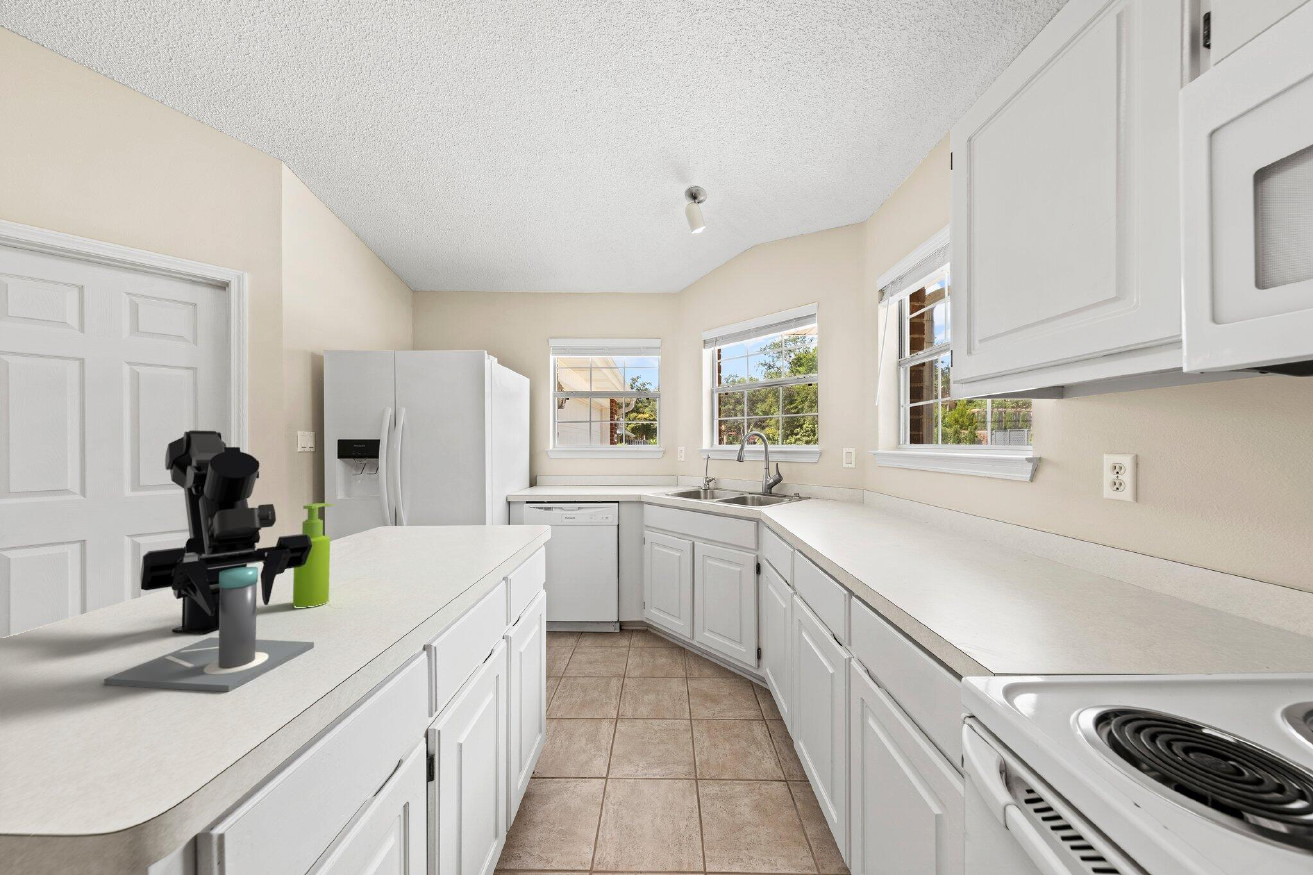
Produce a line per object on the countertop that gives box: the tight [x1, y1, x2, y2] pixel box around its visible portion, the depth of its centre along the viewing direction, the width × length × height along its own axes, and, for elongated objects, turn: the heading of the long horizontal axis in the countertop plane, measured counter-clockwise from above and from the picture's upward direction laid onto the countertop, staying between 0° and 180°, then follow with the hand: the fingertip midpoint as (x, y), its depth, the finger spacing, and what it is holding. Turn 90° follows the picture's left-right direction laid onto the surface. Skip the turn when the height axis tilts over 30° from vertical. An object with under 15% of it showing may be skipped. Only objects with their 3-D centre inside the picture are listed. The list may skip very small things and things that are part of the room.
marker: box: [218, 566, 259, 668], centre depth 70 cm, size 4×4×13 cm
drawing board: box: [103, 636, 315, 693], centre depth 71 cm, size 18×14×1 cm
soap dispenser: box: [292, 502, 333, 607], centre depth 98 cm, size 6×7×20 cm
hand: (240, 608), depth 69 cm, fingers open, 6 cm apart
